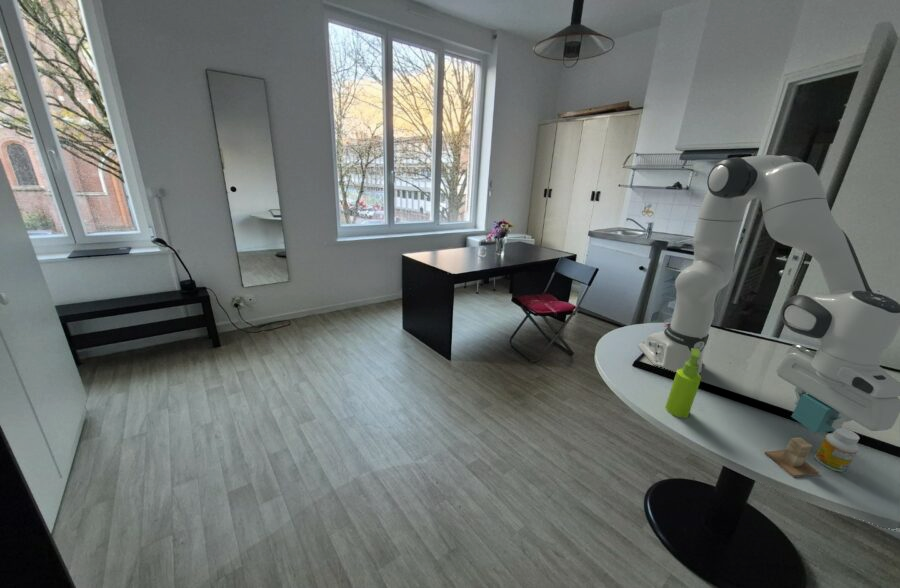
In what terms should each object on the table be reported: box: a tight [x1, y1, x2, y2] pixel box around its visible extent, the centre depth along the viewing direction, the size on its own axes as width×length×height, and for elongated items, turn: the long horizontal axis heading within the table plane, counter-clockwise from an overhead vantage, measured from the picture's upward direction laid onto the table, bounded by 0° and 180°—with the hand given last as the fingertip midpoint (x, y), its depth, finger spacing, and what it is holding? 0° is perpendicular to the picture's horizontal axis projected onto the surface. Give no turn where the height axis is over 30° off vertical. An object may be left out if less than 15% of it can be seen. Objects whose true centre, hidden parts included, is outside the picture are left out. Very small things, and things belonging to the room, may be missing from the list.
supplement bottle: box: [814, 427, 860, 472], centre depth 83 cm, size 5×5×10 cm
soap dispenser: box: [665, 348, 702, 419], centre depth 98 cm, size 6×7×20 cm
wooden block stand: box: [764, 437, 820, 478], centre depth 83 cm, size 7×7×7 cm
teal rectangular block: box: [790, 393, 841, 434], centre depth 78 cm, size 5×5×7 cm
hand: (816, 416), depth 79 cm, fingers closed on teal rectangular block, 5 cm apart
